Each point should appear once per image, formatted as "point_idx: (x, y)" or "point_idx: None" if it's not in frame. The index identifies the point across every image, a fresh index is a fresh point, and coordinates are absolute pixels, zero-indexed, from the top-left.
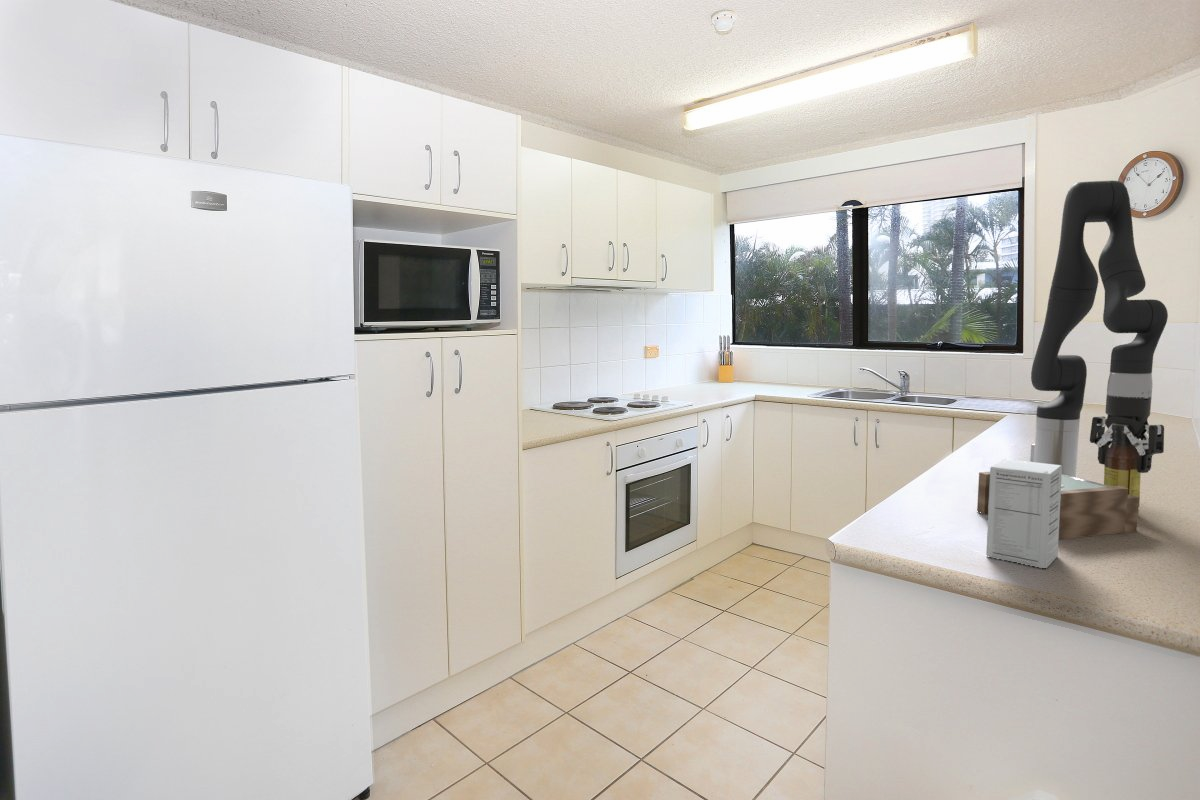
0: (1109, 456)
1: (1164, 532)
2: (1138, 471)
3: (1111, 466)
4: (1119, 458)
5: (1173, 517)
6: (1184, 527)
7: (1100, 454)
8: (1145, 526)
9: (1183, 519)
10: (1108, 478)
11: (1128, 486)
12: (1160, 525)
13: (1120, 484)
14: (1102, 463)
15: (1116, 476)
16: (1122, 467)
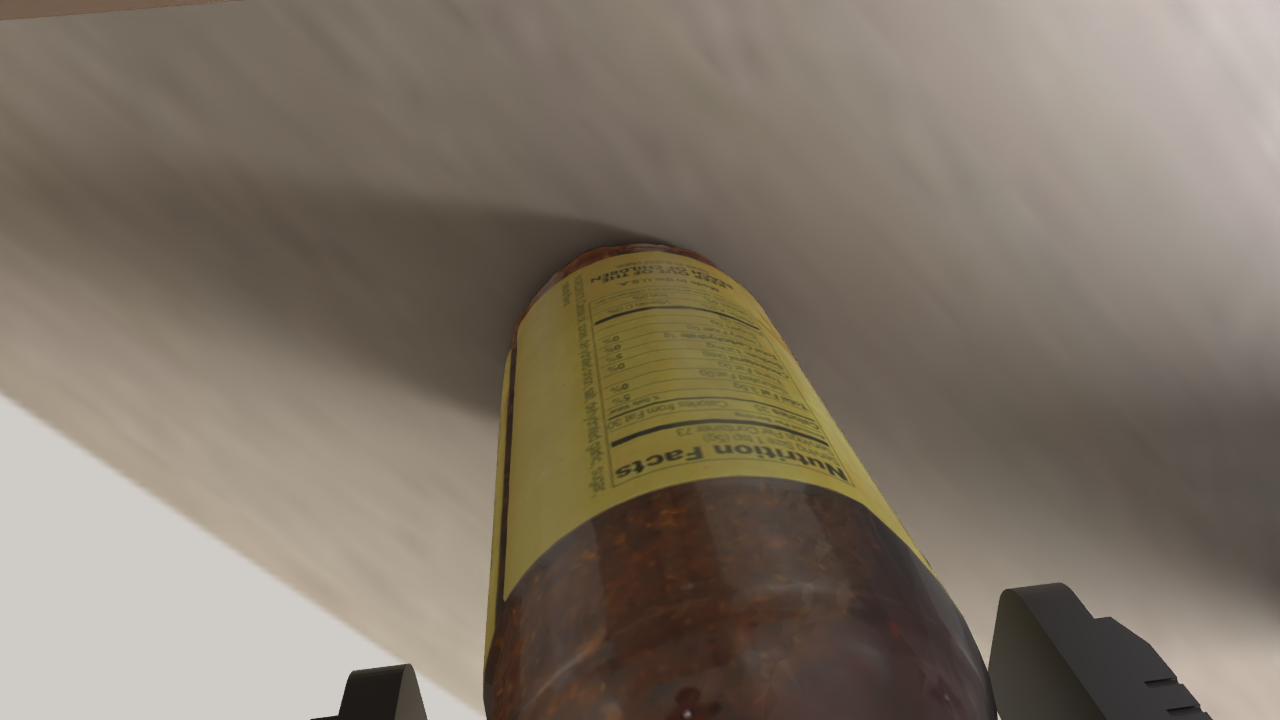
0: (812, 635)
1: (42, 240)
2: (392, 669)
3: (712, 509)
4: (606, 683)
5: (480, 618)
6: (214, 500)
7: (1138, 702)
8: (236, 235)
9: (426, 639)
10: (712, 389)
11: (510, 464)
12: (270, 379)
13: (557, 411)
14: (1009, 596)
15: (606, 441)
16: (555, 582)
